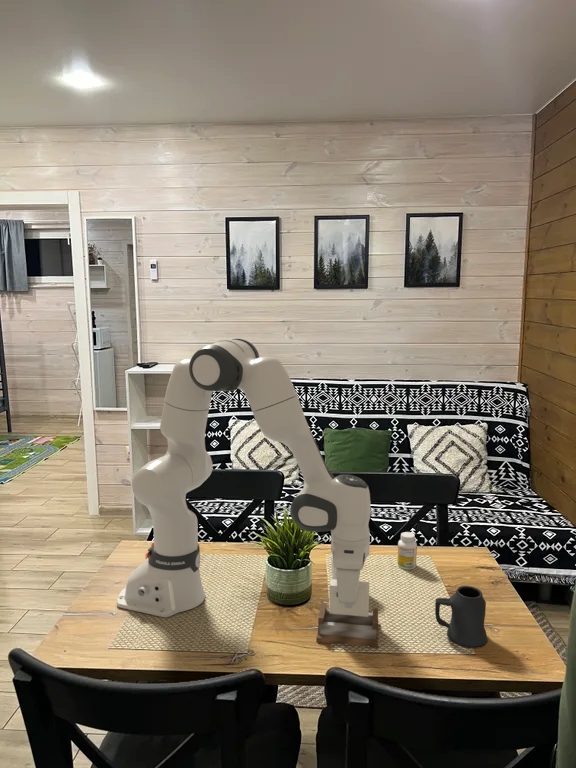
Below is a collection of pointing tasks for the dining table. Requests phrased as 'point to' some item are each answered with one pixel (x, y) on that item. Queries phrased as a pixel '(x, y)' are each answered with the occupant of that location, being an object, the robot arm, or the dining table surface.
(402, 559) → the supplement bottle
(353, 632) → the brown wooden rack
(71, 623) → the dining table surface
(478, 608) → the mug
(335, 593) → the white block with hole
